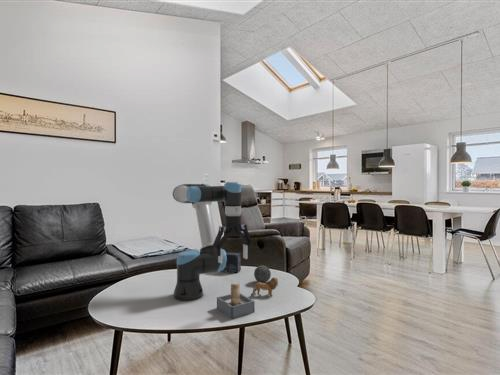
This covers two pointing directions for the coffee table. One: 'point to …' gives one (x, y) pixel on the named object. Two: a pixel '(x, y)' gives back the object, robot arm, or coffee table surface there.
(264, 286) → the lion figurine
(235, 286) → the peg
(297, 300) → the coffee table surface
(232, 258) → the small box
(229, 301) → the box
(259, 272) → the decorative ball
